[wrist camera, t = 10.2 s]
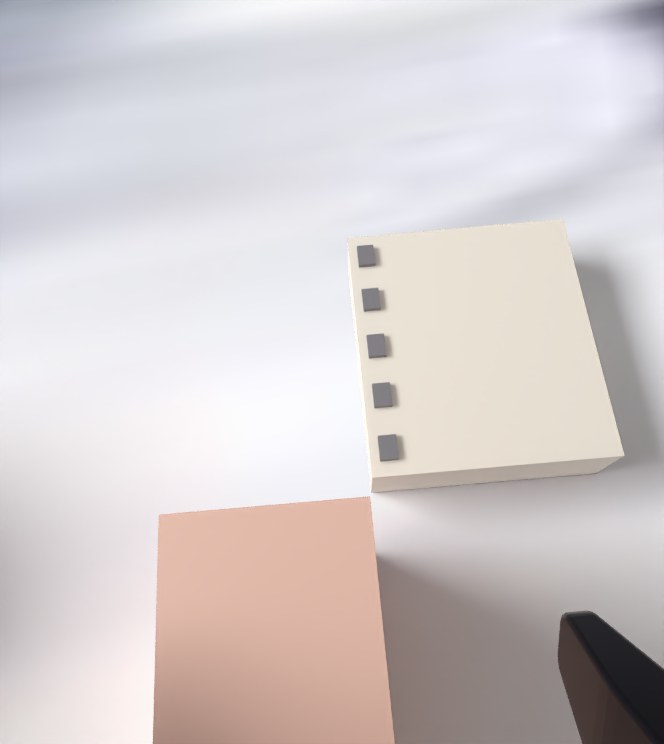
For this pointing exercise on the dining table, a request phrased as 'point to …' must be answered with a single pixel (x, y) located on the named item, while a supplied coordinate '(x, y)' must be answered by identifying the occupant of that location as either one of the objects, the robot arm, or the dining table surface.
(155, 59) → the dining table surface
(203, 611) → the pink rectangular block
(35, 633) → the dining table surface
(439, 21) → the dining table surface
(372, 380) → the board
